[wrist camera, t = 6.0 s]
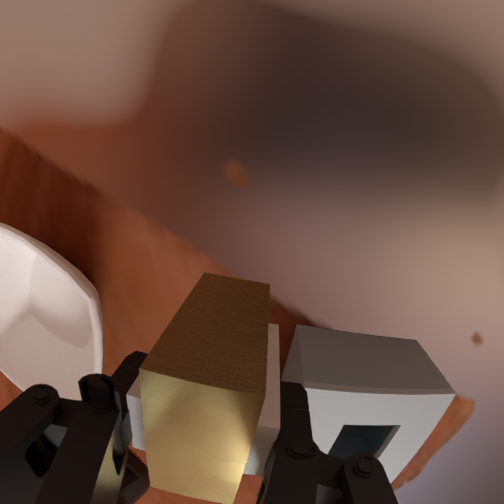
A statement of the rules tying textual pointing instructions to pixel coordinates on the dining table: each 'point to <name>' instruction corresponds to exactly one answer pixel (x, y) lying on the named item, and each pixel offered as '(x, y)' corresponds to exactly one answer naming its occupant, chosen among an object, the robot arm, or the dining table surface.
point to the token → (206, 389)
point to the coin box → (367, 393)
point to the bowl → (46, 317)
